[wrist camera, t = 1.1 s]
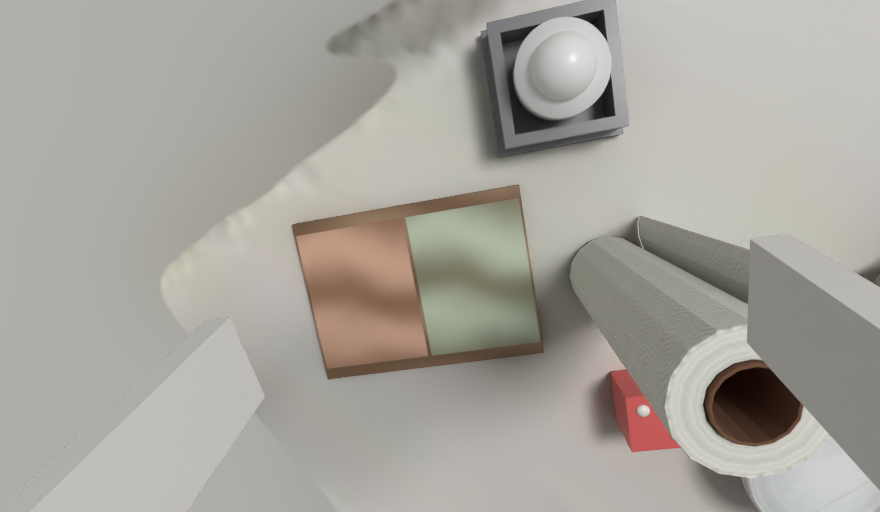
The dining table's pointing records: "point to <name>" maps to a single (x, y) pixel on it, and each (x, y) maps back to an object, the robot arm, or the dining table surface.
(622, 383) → the red die
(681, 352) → the paper towel roll
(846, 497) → the ramekin
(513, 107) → the button base
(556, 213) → the dining table surface
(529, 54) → the pop dome
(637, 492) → the dining table surface
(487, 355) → the game board
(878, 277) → the figurine character
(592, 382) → the dining table surface
